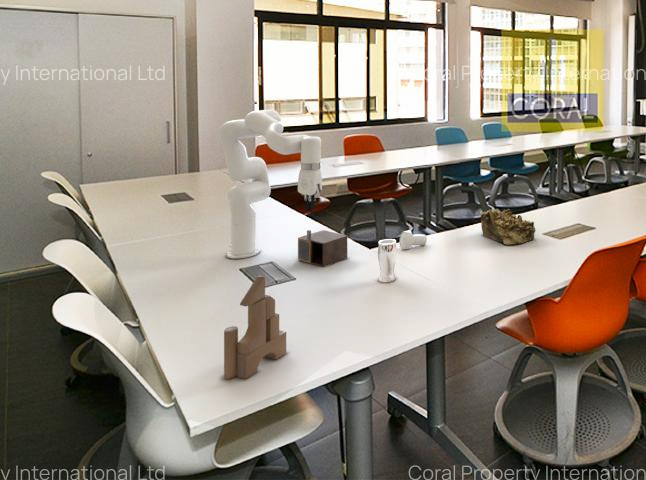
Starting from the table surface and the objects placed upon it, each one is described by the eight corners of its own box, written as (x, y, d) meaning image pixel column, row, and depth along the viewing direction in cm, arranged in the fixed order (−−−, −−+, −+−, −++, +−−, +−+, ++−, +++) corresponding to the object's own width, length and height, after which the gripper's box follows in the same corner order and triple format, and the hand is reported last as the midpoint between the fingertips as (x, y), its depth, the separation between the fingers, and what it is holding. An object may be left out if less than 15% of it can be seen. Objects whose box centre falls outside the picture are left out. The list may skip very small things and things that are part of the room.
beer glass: (400, 277, 211) (400, 240, 211) (389, 284, 205) (389, 245, 204) (385, 275, 213) (385, 238, 213) (374, 281, 207) (374, 243, 207)
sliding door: (309, 263, 225) (309, 231, 224) (297, 259, 229) (297, 228, 228) (311, 262, 225) (311, 230, 225) (299, 259, 229) (299, 227, 229)
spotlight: (396, 244, 247) (401, 228, 247) (418, 244, 254) (423, 228, 254) (403, 252, 241) (408, 235, 241) (425, 252, 248) (430, 235, 248)
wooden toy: (268, 349, 156) (268, 265, 156) (286, 353, 154) (286, 267, 154) (221, 378, 141) (221, 284, 141) (240, 382, 139) (240, 288, 139)
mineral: (544, 235, 267) (544, 205, 267) (514, 248, 246) (515, 216, 246) (501, 226, 282) (501, 198, 282) (470, 238, 261) (470, 208, 261)
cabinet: (323, 267, 222) (323, 243, 222) (299, 260, 230) (299, 237, 230) (347, 258, 232) (347, 235, 232) (323, 252, 240) (323, 230, 240)
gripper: (291, 165, 221) (290, 209, 222) (314, 169, 214) (313, 215, 215) (307, 163, 228) (306, 205, 228) (330, 167, 221) (329, 210, 221)
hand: (310, 210), depth 221 cm, fingers closed
